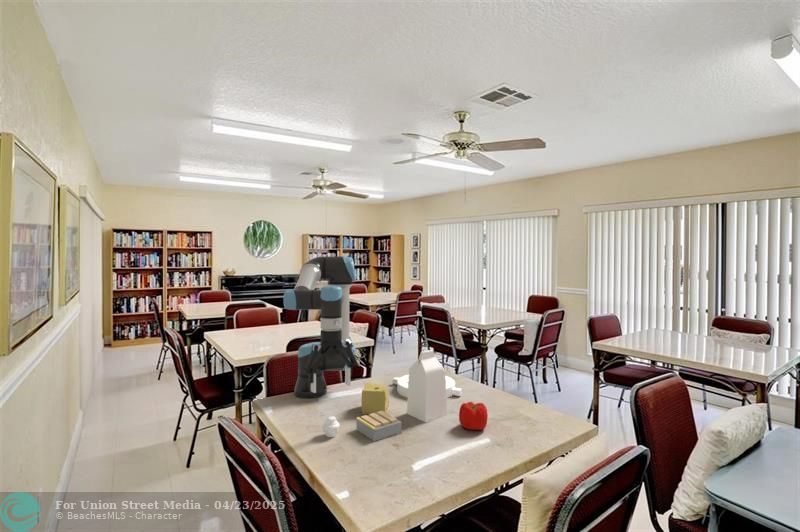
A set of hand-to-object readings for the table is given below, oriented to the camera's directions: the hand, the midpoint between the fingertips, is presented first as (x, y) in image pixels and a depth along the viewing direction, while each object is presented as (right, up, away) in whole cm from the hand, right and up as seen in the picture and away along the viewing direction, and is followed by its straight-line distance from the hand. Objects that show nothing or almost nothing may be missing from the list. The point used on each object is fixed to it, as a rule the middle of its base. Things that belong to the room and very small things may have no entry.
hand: (331, 388), depth 143 cm
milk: (+36, -17, +21) cm, 45 cm away
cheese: (+14, -17, +25) cm, 33 cm away
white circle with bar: (+37, -17, +51) cm, 65 cm away
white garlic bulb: (0, -17, +1) cm, 17 cm away
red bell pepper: (+53, -18, +8) cm, 56 cm away
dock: (+17, -17, +4) cm, 24 cm away
